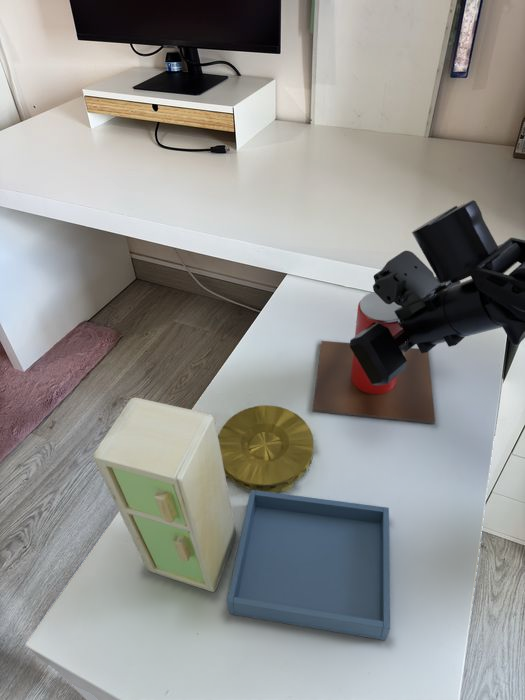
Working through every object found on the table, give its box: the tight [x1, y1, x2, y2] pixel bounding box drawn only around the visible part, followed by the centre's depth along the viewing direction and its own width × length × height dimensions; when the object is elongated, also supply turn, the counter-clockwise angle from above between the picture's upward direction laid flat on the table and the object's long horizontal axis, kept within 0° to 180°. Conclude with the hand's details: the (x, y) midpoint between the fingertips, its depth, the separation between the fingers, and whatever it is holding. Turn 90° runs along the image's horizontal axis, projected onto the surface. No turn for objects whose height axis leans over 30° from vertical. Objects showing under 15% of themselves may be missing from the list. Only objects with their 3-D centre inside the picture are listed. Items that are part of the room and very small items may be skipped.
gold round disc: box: [217, 404, 314, 494], centre depth 63 cm, size 12×12×2 cm
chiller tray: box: [226, 489, 391, 641], centre depth 52 cm, size 15×12×3 cm
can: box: [351, 291, 403, 394], centre depth 68 cm, size 6×6×13 cm
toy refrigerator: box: [92, 397, 237, 593], centre depth 47 cm, size 8×7×21 cm
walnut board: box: [312, 340, 436, 425], centre depth 72 cm, size 16×14×1 cm
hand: (370, 339), depth 68 cm, fingers closed on can, 6 cm apart
